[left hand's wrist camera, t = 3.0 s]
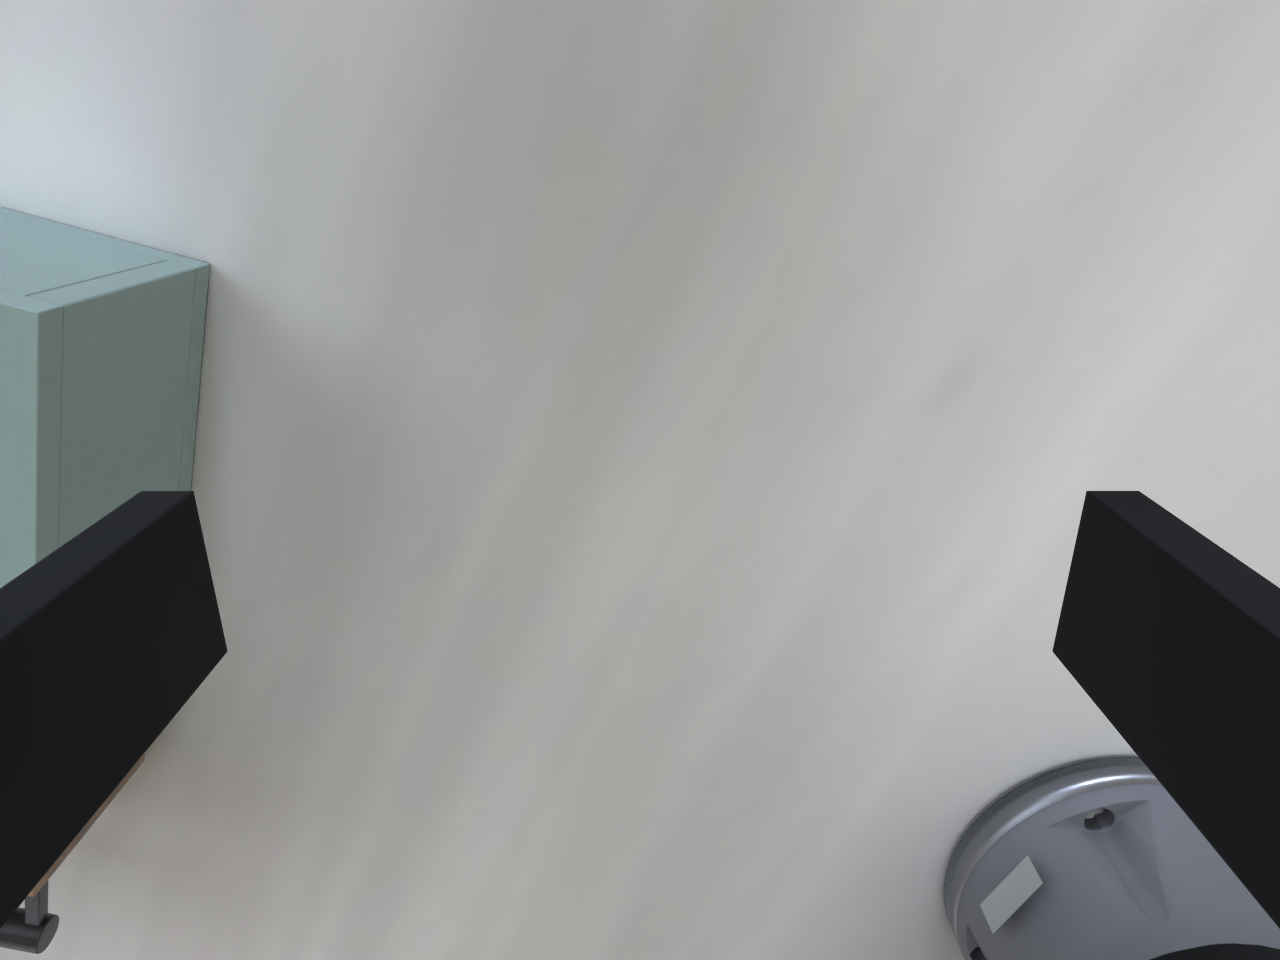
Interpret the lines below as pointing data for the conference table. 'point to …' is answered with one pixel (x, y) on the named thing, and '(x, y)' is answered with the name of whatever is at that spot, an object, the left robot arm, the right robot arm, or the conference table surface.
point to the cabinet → (90, 379)
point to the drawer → (45, 898)
